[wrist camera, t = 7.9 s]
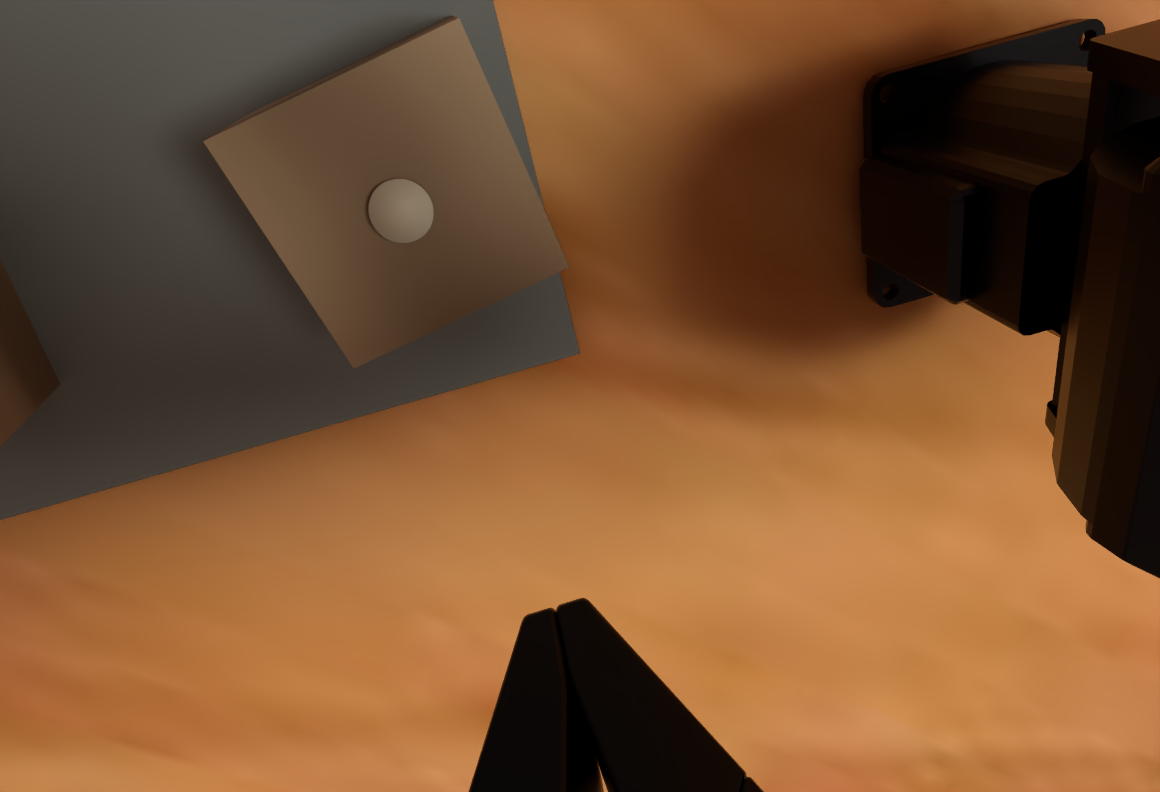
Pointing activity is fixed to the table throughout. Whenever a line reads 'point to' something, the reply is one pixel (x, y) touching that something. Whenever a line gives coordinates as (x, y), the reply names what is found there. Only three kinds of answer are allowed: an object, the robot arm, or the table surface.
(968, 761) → the table surface
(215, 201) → the mat
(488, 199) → the pip block one
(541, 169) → the table surface
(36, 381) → the pip block two
